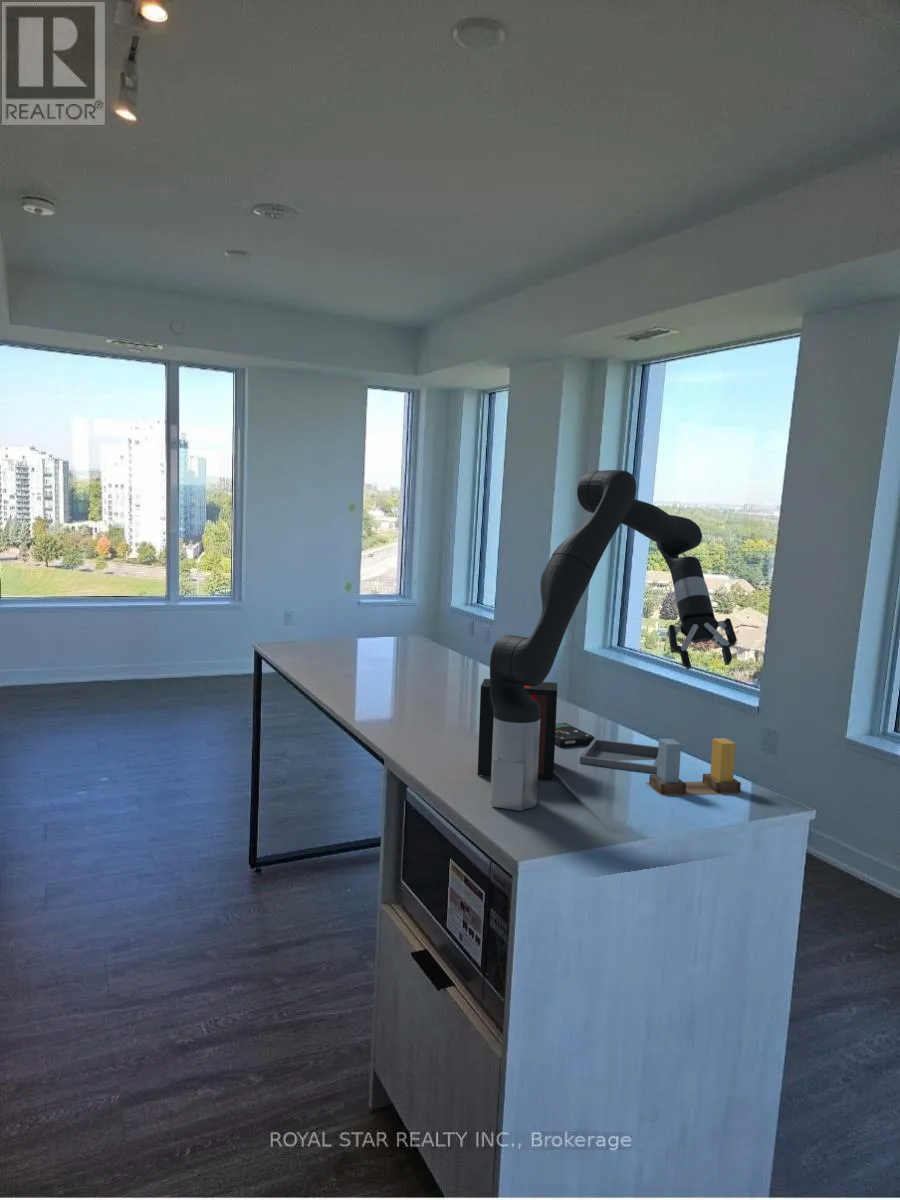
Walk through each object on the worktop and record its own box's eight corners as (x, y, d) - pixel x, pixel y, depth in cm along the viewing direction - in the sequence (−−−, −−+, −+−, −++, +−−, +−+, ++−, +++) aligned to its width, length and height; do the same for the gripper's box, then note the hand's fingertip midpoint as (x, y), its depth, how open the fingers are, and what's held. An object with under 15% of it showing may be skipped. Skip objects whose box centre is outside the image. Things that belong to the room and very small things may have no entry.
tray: (655, 780, 172) (656, 766, 171) (579, 769, 178) (579, 756, 177) (663, 759, 187) (664, 747, 187) (593, 750, 194) (594, 738, 193)
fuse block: (743, 800, 160) (744, 784, 160) (661, 802, 157) (662, 785, 157) (724, 787, 168) (725, 772, 168) (645, 789, 165) (646, 773, 165)
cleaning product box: (553, 769, 178) (557, 682, 176) (553, 781, 169) (557, 690, 167) (481, 763, 180) (484, 678, 178) (477, 775, 171) (480, 686, 169)
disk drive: (595, 747, 199) (564, 731, 213) (595, 736, 199) (565, 721, 212) (560, 750, 195) (531, 734, 209) (560, 739, 195) (532, 724, 208)
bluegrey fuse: (678, 791, 160) (680, 744, 159) (664, 792, 159) (667, 744, 158) (669, 785, 164) (672, 738, 163) (656, 785, 163) (658, 739, 162)
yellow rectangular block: (732, 790, 162) (735, 743, 161) (719, 790, 161) (722, 743, 160) (722, 784, 166) (725, 738, 165) (709, 784, 165) (712, 738, 164)
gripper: (663, 597, 177) (678, 664, 170) (727, 589, 176) (744, 656, 169) (660, 610, 184) (673, 675, 177) (721, 603, 183) (737, 668, 176)
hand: (708, 666), depth 173 cm, fingers open, 8 cm apart
